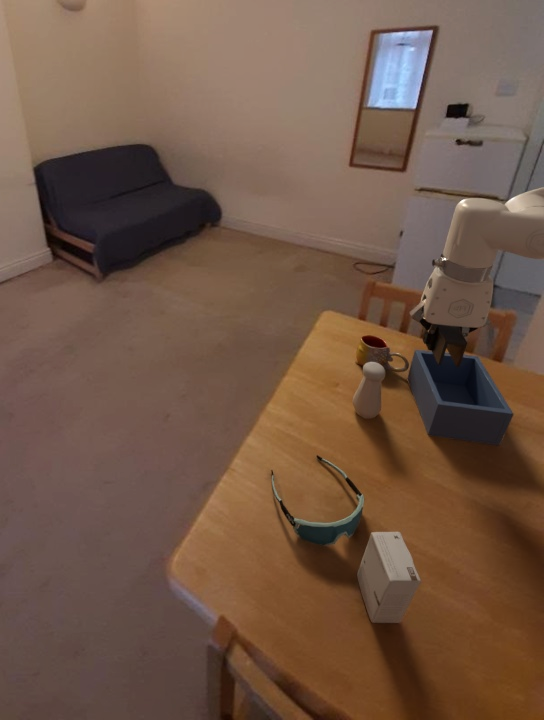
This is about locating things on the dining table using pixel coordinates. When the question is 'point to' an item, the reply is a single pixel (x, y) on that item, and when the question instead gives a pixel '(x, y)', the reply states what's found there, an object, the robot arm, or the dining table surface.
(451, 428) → the box
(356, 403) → the salt shaker
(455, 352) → the black channel
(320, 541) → the sunglasses
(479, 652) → the dining table surface
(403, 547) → the cosmetic box
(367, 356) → the mug
